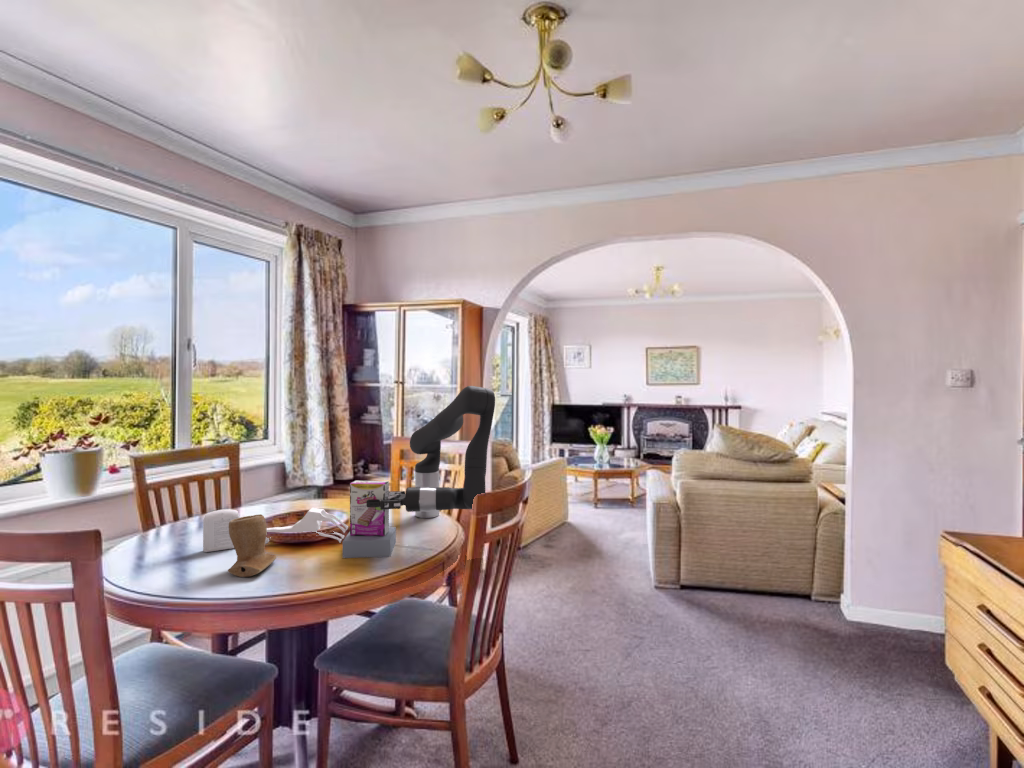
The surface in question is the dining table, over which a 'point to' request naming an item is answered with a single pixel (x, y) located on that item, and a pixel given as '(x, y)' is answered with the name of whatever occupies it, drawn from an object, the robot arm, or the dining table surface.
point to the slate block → (369, 545)
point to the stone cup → (249, 545)
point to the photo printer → (218, 530)
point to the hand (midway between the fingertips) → (369, 500)
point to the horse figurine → (312, 524)
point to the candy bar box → (368, 508)
